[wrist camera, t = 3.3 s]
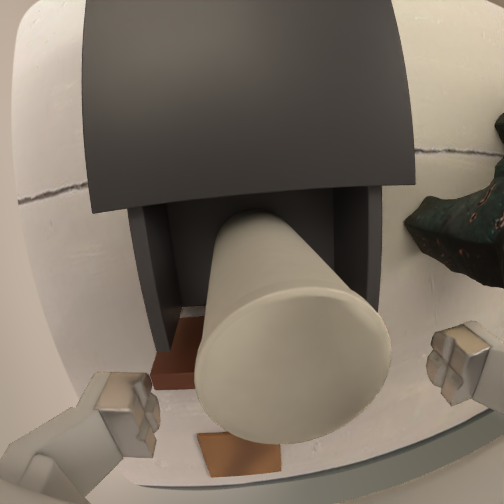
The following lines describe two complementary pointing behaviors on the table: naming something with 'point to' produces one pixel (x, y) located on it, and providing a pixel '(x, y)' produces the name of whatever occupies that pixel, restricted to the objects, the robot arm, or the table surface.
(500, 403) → the robot arm
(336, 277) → the container
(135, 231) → the drawer
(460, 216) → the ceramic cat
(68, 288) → the table surface
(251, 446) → the coaster
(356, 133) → the cabinet
